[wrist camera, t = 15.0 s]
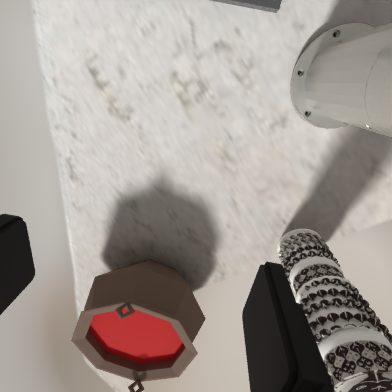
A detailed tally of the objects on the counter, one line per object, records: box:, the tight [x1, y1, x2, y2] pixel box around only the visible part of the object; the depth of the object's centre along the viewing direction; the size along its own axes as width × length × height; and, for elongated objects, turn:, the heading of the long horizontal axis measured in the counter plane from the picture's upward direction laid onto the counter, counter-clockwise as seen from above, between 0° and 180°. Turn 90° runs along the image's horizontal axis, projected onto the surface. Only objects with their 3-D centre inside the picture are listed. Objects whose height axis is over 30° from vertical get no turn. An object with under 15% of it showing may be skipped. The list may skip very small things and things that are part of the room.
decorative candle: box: [277, 228, 392, 392], centre depth 33 cm, size 9×9×25 cm
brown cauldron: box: [71, 260, 205, 392], centre depth 45 cm, size 24×24×16 cm
